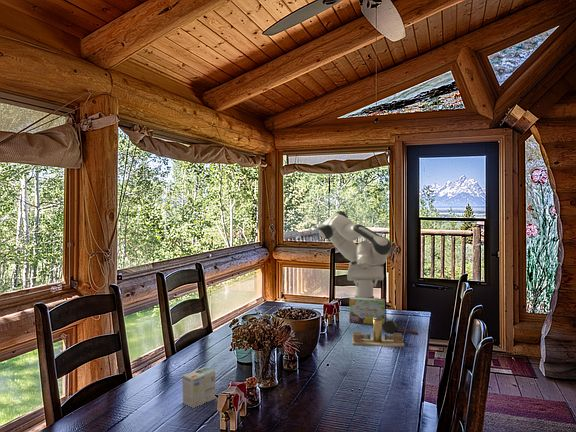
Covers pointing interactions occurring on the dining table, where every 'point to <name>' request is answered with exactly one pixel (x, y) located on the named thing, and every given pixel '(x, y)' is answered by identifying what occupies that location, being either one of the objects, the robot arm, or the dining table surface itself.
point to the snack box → (366, 309)
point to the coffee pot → (394, 327)
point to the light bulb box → (198, 387)
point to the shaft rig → (387, 341)
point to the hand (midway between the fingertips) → (366, 286)
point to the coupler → (377, 329)
